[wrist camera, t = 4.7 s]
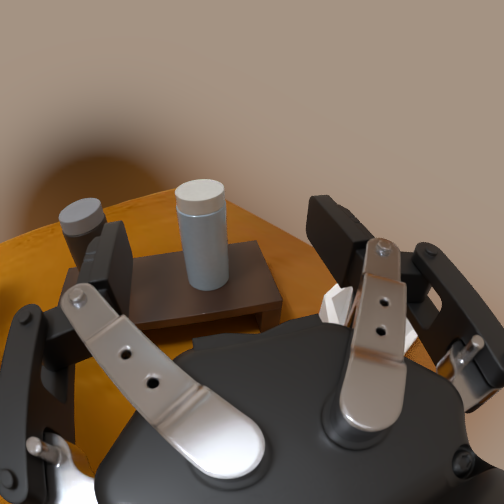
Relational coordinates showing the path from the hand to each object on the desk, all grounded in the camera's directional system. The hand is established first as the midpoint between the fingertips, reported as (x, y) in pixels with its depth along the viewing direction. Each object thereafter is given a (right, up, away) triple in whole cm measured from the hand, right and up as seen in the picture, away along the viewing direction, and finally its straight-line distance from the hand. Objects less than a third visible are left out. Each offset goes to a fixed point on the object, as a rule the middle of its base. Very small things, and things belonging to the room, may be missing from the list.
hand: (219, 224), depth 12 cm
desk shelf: (-9, -8, +20) cm, 23 cm away
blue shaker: (-3, -4, +18) cm, 19 cm away
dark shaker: (-14, -5, +16) cm, 22 cm away
